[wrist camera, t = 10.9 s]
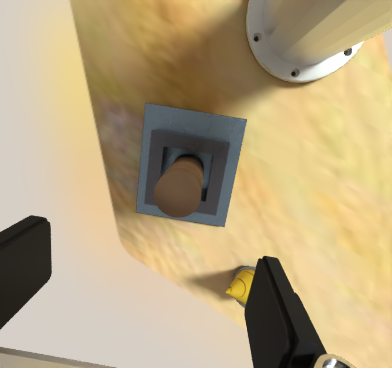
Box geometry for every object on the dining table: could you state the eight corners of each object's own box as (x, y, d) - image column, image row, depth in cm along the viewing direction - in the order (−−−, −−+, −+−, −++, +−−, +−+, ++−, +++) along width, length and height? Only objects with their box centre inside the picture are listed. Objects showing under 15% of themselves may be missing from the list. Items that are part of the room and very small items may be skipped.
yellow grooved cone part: (240, 297, 35) (202, 306, 28) (247, 261, 36) (212, 261, 29) (275, 312, 32) (242, 327, 24) (281, 273, 33) (251, 276, 25)
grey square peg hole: (147, 103, 28) (137, 101, 24) (246, 119, 28) (251, 119, 24) (137, 209, 32) (128, 221, 28) (224, 224, 32) (225, 238, 28)
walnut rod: (174, 151, 28) (156, 168, 19) (206, 156, 28) (204, 176, 19) (170, 182, 29) (151, 213, 20) (201, 187, 29) (196, 221, 20)
